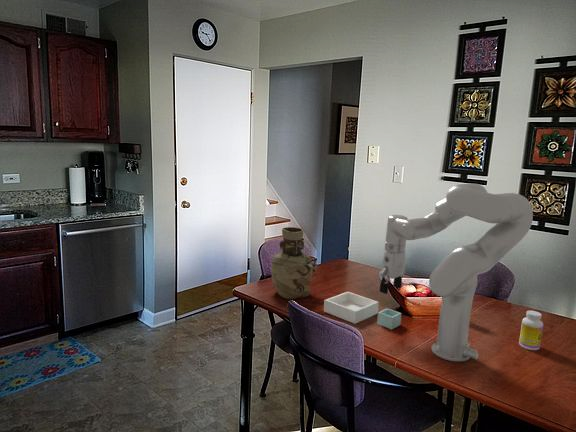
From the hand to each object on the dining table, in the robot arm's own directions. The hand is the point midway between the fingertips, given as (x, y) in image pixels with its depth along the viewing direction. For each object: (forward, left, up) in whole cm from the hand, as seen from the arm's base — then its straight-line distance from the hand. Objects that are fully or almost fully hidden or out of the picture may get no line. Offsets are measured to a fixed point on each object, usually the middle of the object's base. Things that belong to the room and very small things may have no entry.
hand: (390, 289), depth 169 cm
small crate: (-1, 0, -14) cm, 14 cm away
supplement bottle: (-45, -23, -14) cm, 52 cm away
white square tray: (+16, +2, -14) cm, 22 cm away
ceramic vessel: (+48, +5, -14) cm, 51 cm away
